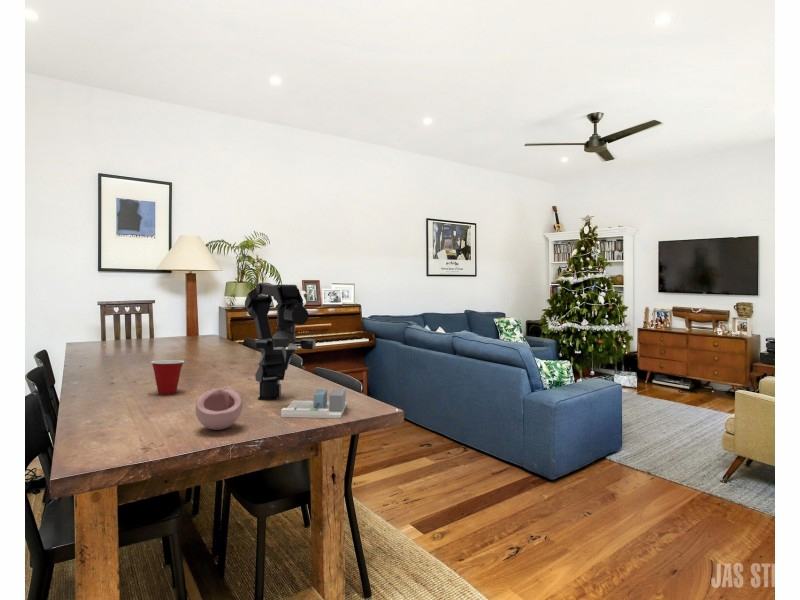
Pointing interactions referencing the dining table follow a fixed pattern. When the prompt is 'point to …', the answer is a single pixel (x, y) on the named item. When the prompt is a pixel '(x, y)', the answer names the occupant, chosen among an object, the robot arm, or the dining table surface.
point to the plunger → (320, 398)
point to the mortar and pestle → (218, 408)
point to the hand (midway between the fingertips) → (285, 369)
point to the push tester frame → (306, 409)
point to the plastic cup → (167, 375)
